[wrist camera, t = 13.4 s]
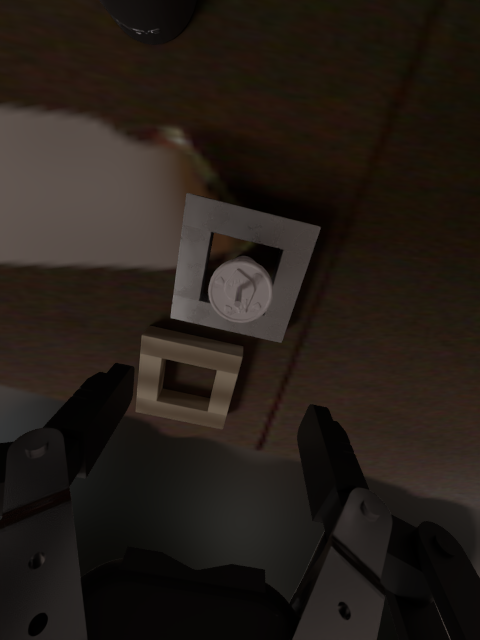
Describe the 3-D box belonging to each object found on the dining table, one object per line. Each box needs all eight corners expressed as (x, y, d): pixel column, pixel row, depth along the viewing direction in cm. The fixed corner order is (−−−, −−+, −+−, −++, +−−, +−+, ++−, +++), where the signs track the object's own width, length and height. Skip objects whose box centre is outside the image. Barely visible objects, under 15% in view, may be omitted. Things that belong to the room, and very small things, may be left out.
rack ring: (192, 194, 30) (186, 193, 28) (315, 224, 31) (321, 227, 28) (176, 309, 37) (170, 317, 34) (279, 332, 37) (281, 342, 35)
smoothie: (266, 241, 32) (275, 267, 20) (269, 290, 35) (280, 341, 22) (215, 248, 33) (192, 276, 20) (222, 295, 35) (206, 348, 23)
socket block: (149, 325, 38) (141, 335, 35) (243, 346, 39) (242, 357, 36) (142, 398, 44) (135, 411, 41) (224, 415, 44) (222, 429, 42)
